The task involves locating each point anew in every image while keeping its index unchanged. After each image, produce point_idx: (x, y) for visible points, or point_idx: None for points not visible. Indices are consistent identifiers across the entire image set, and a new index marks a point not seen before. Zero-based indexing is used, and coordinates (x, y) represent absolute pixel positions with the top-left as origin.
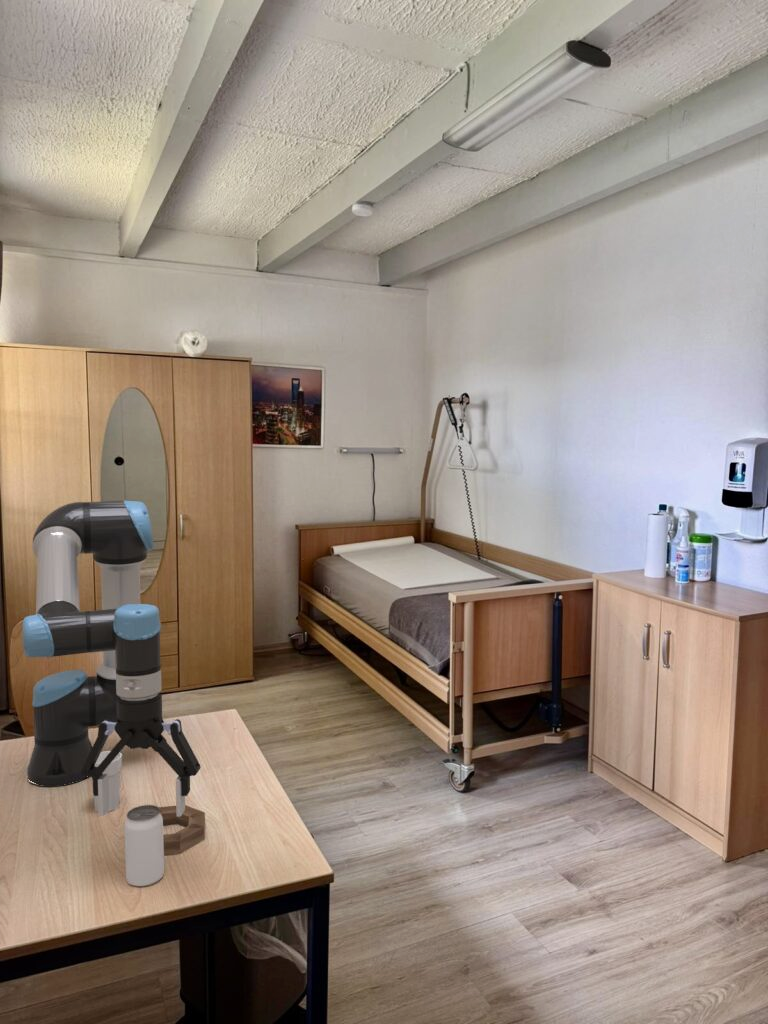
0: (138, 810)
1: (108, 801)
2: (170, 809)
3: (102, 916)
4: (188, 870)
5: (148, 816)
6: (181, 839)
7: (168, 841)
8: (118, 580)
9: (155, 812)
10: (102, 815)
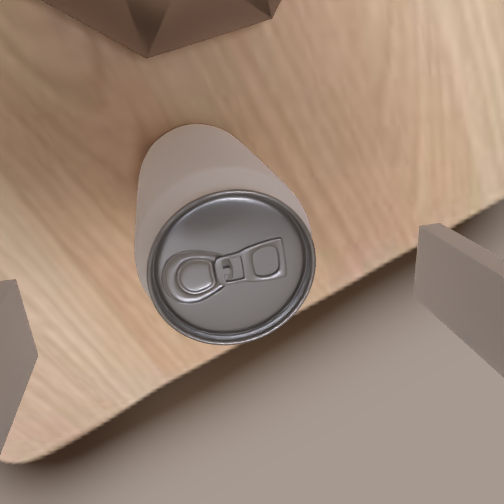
0: (185, 235)
1: (3, 311)
2: None
3: (165, 352)
4: (317, 128)
5: (266, 284)
6: (275, 8)
7: (227, 29)
8: None
9: (287, 244)
10: (34, 360)
